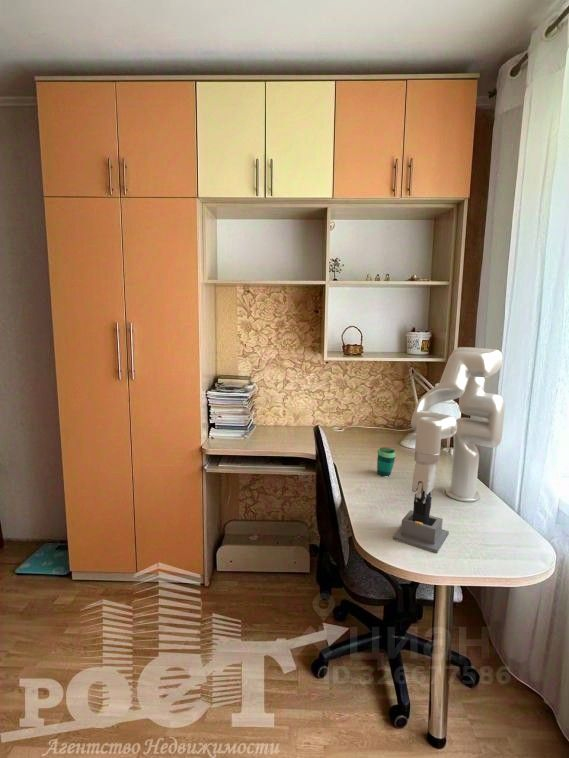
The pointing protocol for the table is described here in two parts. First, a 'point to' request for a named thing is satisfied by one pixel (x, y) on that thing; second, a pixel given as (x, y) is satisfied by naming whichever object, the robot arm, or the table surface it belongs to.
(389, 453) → the cup
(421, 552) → the table surface
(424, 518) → the two-way radio
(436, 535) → the charging dock
